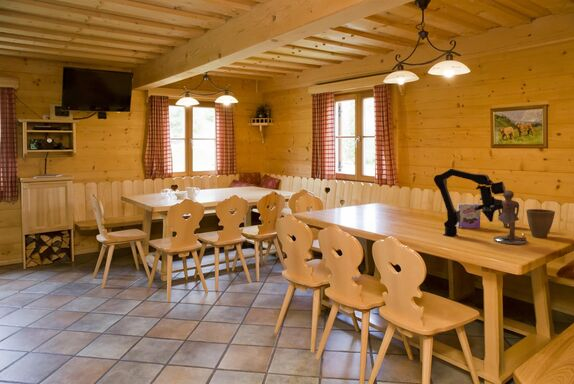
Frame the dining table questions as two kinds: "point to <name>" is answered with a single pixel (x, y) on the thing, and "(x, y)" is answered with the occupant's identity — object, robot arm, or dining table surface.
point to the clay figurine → (508, 209)
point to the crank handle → (512, 233)
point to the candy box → (468, 216)
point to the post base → (508, 242)
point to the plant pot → (540, 221)
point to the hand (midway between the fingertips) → (491, 221)
